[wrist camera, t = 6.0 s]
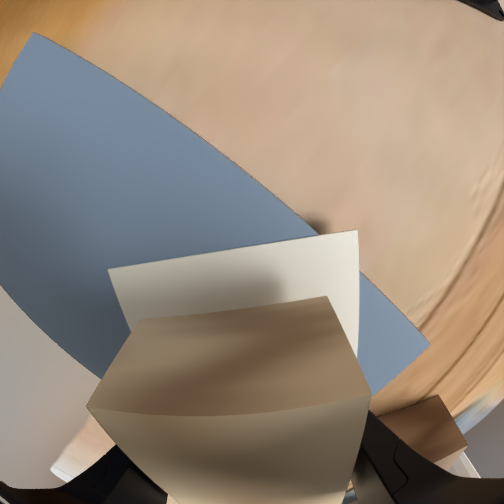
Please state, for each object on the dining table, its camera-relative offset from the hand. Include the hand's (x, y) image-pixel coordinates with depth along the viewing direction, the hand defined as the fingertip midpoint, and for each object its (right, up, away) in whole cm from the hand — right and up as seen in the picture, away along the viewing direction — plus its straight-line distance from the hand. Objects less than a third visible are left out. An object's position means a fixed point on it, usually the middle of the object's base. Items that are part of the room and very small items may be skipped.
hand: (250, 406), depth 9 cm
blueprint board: (-5, +4, +2) cm, 7 cm away
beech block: (0, 0, +1) cm, 1 cm away
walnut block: (+11, -7, +5) cm, 14 cm away
